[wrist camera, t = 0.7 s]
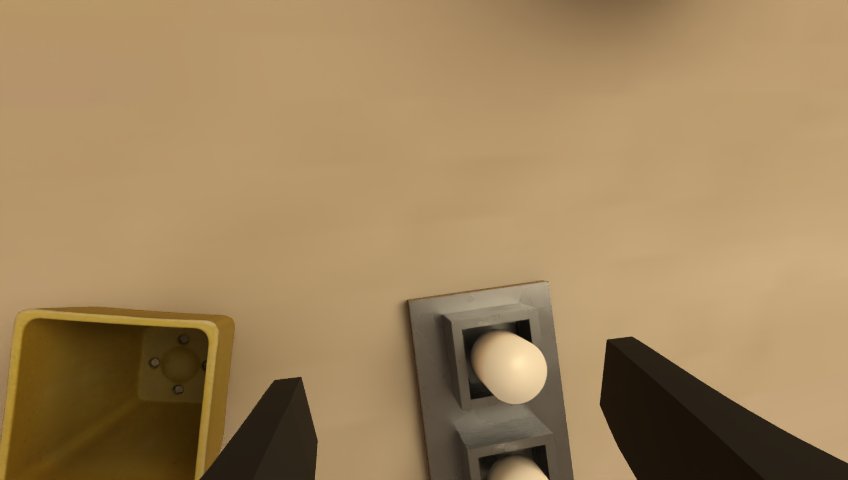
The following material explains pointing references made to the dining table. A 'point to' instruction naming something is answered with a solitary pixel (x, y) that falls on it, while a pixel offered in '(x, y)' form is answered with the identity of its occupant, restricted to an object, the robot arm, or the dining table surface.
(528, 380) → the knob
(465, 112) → the dining table surface
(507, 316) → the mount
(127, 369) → the flower pot
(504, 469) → the knob middle
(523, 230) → the dining table surface
